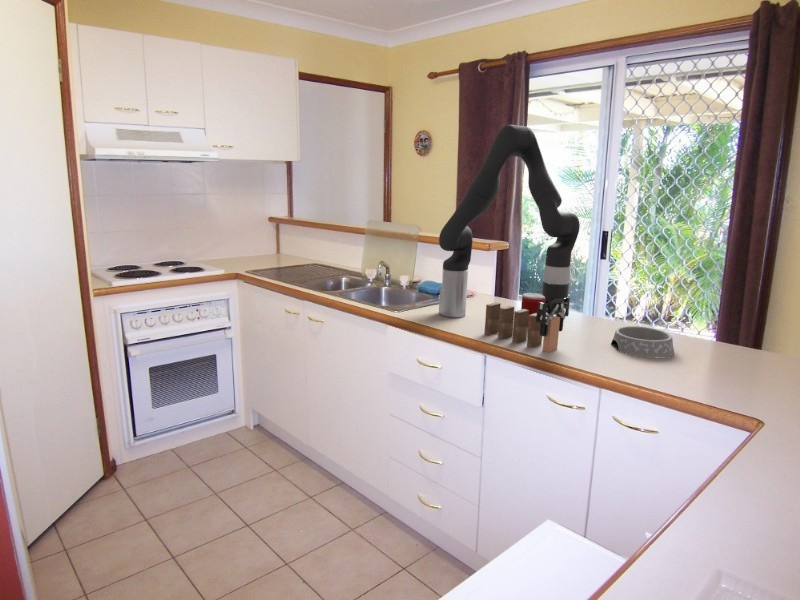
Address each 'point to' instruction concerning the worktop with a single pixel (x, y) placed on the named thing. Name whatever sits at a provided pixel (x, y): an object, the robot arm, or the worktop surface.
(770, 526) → the worktop surface
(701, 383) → the worktop surface
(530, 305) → the canned food
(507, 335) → the domino
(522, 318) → the domino
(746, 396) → the worktop surface
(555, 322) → the domino
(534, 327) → the domino
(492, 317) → the domino
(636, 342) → the dog bowl
